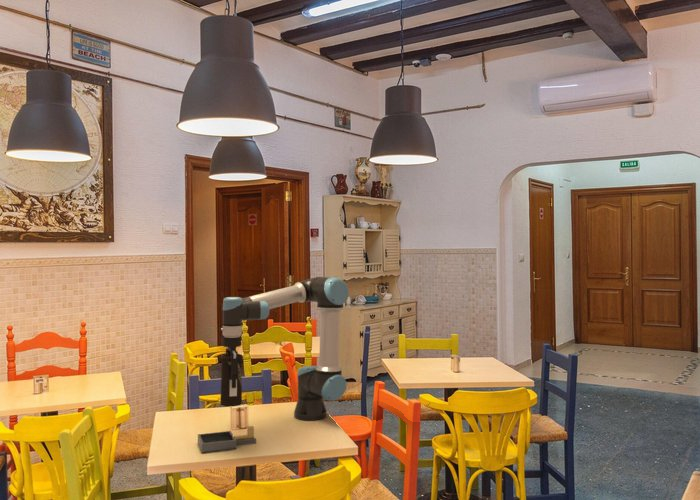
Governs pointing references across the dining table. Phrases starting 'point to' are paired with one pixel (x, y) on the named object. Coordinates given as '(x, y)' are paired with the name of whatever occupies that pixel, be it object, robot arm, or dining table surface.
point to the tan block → (249, 434)
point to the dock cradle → (216, 442)
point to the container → (225, 382)
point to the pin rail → (246, 441)
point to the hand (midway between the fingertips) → (231, 393)
